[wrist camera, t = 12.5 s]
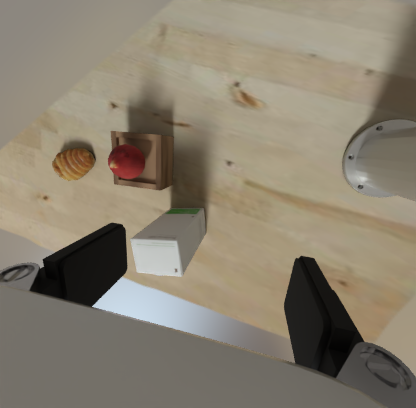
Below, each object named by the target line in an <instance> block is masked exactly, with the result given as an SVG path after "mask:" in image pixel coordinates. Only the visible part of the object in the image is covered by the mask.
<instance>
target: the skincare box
mask: <svg viewBox="0 0 416 408" xmlns="http://www.w3.org/2000/svg"><path fill="white" fill-rule="evenodd" d="M205 234H206V226H205V214H204V208H170V209H169V210H168V211H167V212H165V213H164V214H163V215H161V216H160V217H159V218H157V219H156V220H155V221H153V222H152V223H151V224H150V225H148V226H147V227H146V228H144V229H143V230H142V231H140V232H139V233H138V234H136V235H135V236H134V237H133V238H131V239H130V240H131V245H132V250H133V255H134V260H135V265H136V270H137V272H140V273H149V274H155V275H157V276H163V275H170V276H179V277H182V276H183V274H184V272H185V270H186V268H187V266H188V264H189V263H190V261H191V259H192V257H193V255H194V254H195V252H196V250H197V248H198V246H199V245H200V243H201V241H202V239H203V238H204V236H205Z"/></svg>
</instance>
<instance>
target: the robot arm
mask: <svg viewBox="0 0 416 408" xmlns="http://www.w3.org/2000/svg"><path fill="white" fill-rule="evenodd" d="M376 128H378V129H377V130H376ZM349 156H350V158H349V159H348V157H349ZM342 166H343V173H344V177H345V179H346V181H347V182H348V184H349V185H350V186H351V187H352V188H353V189H355V190H356V191H358V192H360V193H362V194H364V195H368V196H371V197H379V198H380V197H391V196H396V195H397V196H400V197H403V198H407V199H410V200H413V201H416V122H414V121H411V120H405V119H393V120H388V121H384V122H380V123H377V124H375V125H372V126H370V127H368V128H367V129H365V130H364V131H362V132H361V133H360V134H359V135H357V136H356V137H355V138H354V140H353V141H352V142H351V143H350V145H349V146H348V148H347V150H346V152H345V155H344V158H343V165H342ZM358 185H359V187H358ZM43 263H44V267H42V268H41V269H40V267H39V265H38V264H36V263H21V264H17V265H13V266H10V267H7V268H5V269H3V270H1V271H0V408H416V377H415V376H414V374H413V373H412V372H411V370H410V369H409V368H408V367H407V366H406V365H405V364H404V363H403V362H402V361H401V360H400V359H399V358H397V357H396V356H395V355H393V354H392V353H391V352H389V351H387V350H385V349H384V348H382V347H380V346H377V345H375V344H372V343H368V342H364V340H363V338H362V337H361V335H360V333H359V332H358V330H357V328H356V326H355V325H354V323H353V321H352V320H351V318H350V316H349V314H348V313H347V311H346V309H345V308H344V306H343V304H342V303H341V301H340V299H339V297H338V296H337V294H336V293H335V291H334V290H332V289H331V287H330V285H329V284H328V282H327V280H326V278H325V277H324V275H323V273H322V271H321V270H320V268H319V266H318V264H317V263H316V261H315V259H314V258H310V257H304V256H300V258H296V259H295V262H294V266H293V270H292V274H291V278H290V282H289V286H288V290H287V294H286V298H285V302H284V310H285V315H286V320H287V325H288V330H289V335H290V339H291V344H292V349H293V353H294V358H295V363H292V362H289V361H286V360H282V359H279V358H276V357H273V356H269V355H265V354H261V353H258V352H255V351H251V350H248V349H245V348H241V347H237V346H234V345H230V344H227V343H223V342H219V341H216V340H212V339H208V338H205V337H201V336H198V335H194V334H191V333H187V332H183V331H180V330H175V329H172V328H168V327H165V326H161V325H158V324H154V323H150V322H146V321H143V320H139V319H135V318H132V317H128V316H124V315H120V314H117V313H113V312H109V311H105V310H102V309H98V308H94V307H92V306H93V305H94V304H95V303H96V302H97V301H98V300H99V299H100V298H101V297H102V296H103V295H104V294H105V293H106V292H107V291H108V290H109V289H110V288H111V287H112V286H113V285H114V284H115V283H116V282H117V281H118V280H119V279H120V278H121V277H122V276H123V275H124V274H125V273H126V271H127V250H126V230H125V228H124V227H123V225H122V224H117V223H110V224H108V225H106V226H104V227H102V228H100V229H99V230H97V231H95V232H93V233H91V234H89V235H87V236H85V237H84V238H82V239H80V240H78V241H76V242H74V243H72V244H70V245H69V246H67V247H65V248H63V249H61V250H59V251H57V252H55V253H54V254H52V255H50V256H48V257H46V258H44V259H43Z"/></svg>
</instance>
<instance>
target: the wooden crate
mask: <svg viewBox="0 0 416 408" xmlns="http://www.w3.org/2000/svg"><path fill="white" fill-rule="evenodd" d="M111 140H112V150H113V149H114V148H115V147H116V146H120V145H123V144H127V145H132V146H135V147H136V148H138V149H139V150H140V151H141V152H142V154H143V155H144V158H145V168H144V170H143V172H142V173H141V174H140V175H139V176H138V177H136V178H132V179H125V178H121V177H119V176H117V175H115V174H114V184H117V185H125V186H132V187H139V188H147V189H154V190H163V189H165V188H167V187H169V186H171V185H172V180H173V144H174V137H171V136H164V135H155V134H142V133H130V132H117V131H111Z"/></svg>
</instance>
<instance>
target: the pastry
mask: <svg viewBox="0 0 416 408" xmlns="http://www.w3.org/2000/svg"><path fill="white" fill-rule="evenodd" d="M94 163H95V159H94V157H93V155H92V153H91V152H90V151H88V150H86V149H84V148H80V149H78V148H75V149H67V150H65V151H64V152H62V153H58V154H57V155H56V158H55V159H54V161H53V162H52V166H53V169H54V171H55V172H56V173H57V174H58V175H59V176H60V177H61V178H63V179H65V180H68V181H71V180H78V179H80V178H81V177H83V176H84V175H85V174H86V173H88V171H89V170H90V169H91V168H92V167H93V166H94Z"/></svg>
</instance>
